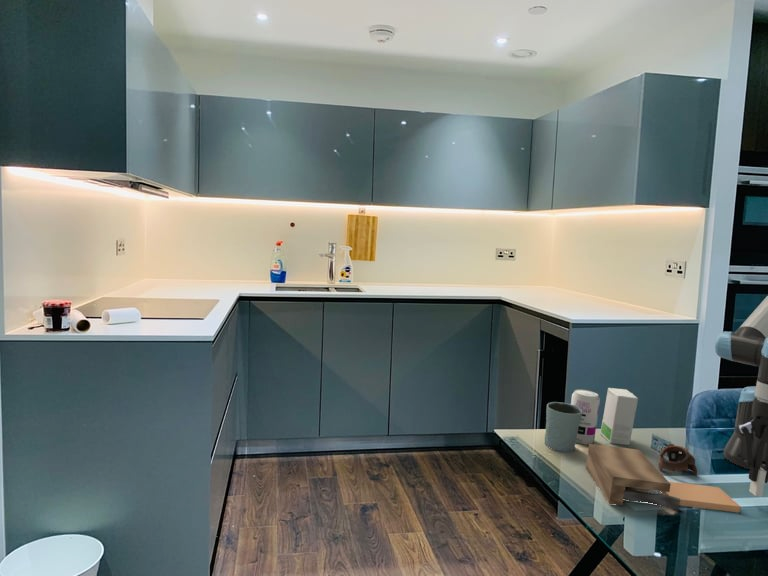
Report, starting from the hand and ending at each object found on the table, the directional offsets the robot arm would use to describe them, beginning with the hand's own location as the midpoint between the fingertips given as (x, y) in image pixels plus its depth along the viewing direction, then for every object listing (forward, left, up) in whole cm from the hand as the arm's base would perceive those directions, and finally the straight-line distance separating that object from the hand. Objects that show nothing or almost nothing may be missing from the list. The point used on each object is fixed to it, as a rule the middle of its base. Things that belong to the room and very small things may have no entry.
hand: (755, 493), depth 134 cm
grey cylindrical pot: (+42, -24, -3) cm, 48 cm away
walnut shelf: (+30, 0, -3) cm, 30 cm away
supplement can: (+34, -32, -3) cm, 47 cm away
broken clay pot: (+11, -17, -4) cm, 21 cm away
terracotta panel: (+14, 0, -4) cm, 14 cm away
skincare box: (+22, -36, -3) cm, 42 cm away
